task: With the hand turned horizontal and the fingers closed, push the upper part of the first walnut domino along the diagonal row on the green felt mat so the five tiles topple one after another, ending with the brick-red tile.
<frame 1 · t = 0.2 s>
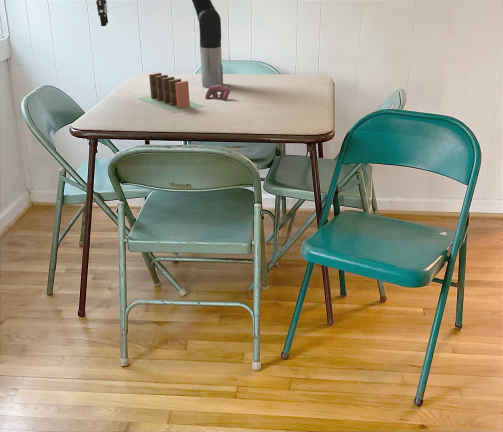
hand: (104, 24, 267), 29 cm above the table, tool pointing down, fingers open, 8 cm apart
domino 2: (163, 99, 263), resting on felt mat
felt mat: (170, 102, 259), on the table
video game controller: (218, 99, 264), on the table
domino 5: (183, 106, 252), resting on felt mat
domino 1: (157, 97, 266), resting on felt mat
domino 4: (176, 104, 256), resting on felt mat
domino 3: (170, 102, 259), resting on felt mat
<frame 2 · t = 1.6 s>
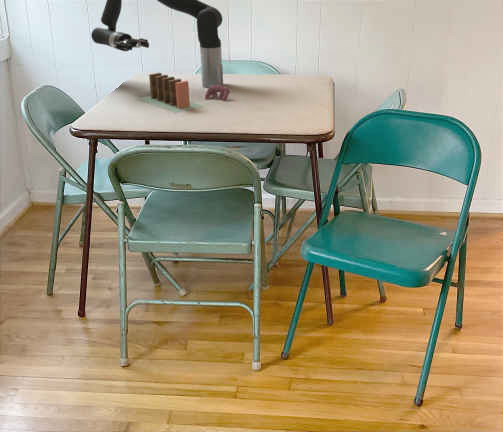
hand: (139, 46, 266), 20 cm above the table, tool horizontal, fingers open, 7 cm apart
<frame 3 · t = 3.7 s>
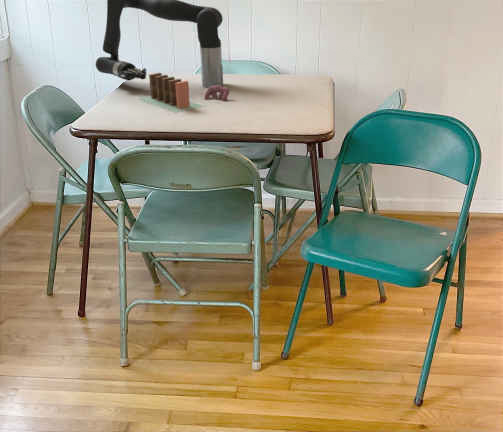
hand: (144, 76, 270), 8 cm above the table, tool horizontal, fingers closed
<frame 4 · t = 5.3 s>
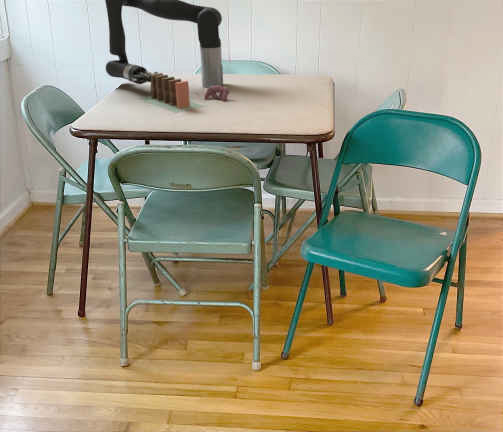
hand: (155, 80, 263), 8 cm above the table, tool horizontal, fingers closed
domino 1: (157, 97, 266), resting on felt mat, tilted 7°, touching gripper
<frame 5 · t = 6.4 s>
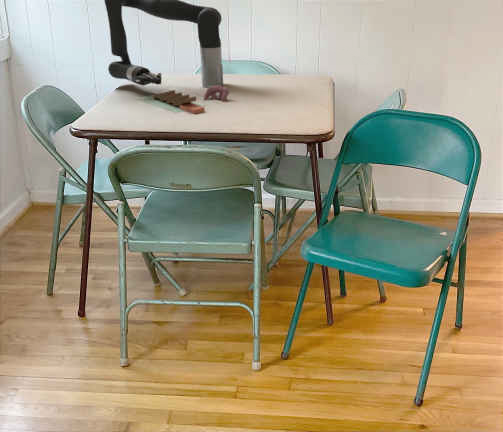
hand: (159, 81, 261), 8 cm above the table, tool horizontal, fingers closed
domino 2: (164, 98, 262), point 1 cm above the table, tilted 72°, touching domino 1, domino 3, felt mat
domino 5: (184, 105, 251), point 1 cm above the table, tilted 90°, touching domino 4, felt mat
domino 1: (158, 96, 265), point 1 cm above the table, tilted 72°, touching domino 2, felt mat
domino 4: (178, 103, 254), point 1 cm above the table, tilted 70°, touching domino 3, domino 5
domino 3: (171, 101, 258), point 1 cm above the table, tilted 71°, touching domino 2, domino 4, felt mat
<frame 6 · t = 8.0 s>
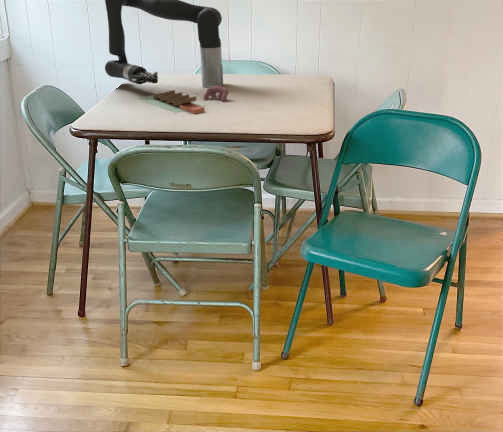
hand: (155, 80, 263), 7 cm above the table, tool horizontal, fingers closed
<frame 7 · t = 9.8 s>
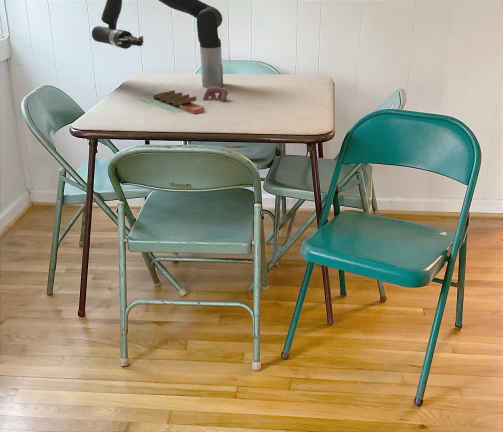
hand: (140, 43, 264), 21 cm above the table, tool horizontal, fingers closed
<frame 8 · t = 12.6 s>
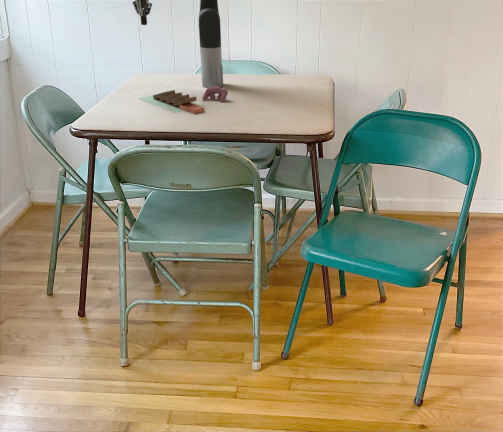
hand: (144, 24, 274), 27 cm above the table, tool pointing down, fingers closed
at the end: domino 5 tilted 90°; domino 1 tilted 72° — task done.
